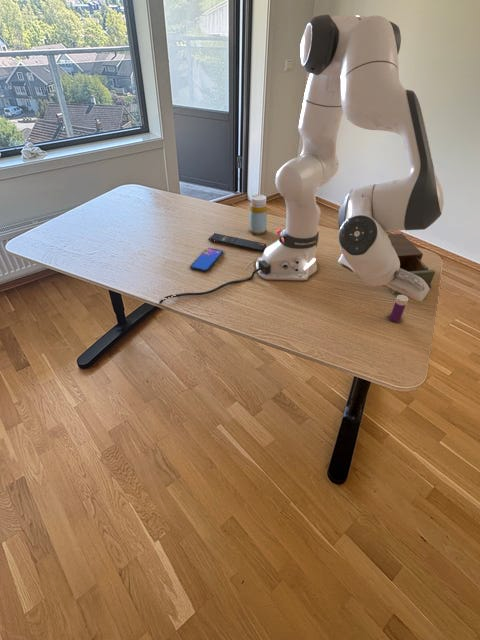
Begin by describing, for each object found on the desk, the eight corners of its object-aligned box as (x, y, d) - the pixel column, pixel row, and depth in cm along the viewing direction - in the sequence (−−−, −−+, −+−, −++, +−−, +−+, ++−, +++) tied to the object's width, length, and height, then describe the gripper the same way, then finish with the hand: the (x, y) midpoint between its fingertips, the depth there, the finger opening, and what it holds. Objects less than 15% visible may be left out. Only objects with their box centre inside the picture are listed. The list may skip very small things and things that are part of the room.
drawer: (434, 299, 110) (443, 279, 105) (399, 302, 109) (406, 282, 104) (407, 269, 124) (414, 250, 118) (376, 272, 123) (381, 252, 117)
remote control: (214, 236, 147) (214, 233, 146) (267, 247, 139) (267, 244, 138) (208, 241, 143) (208, 238, 142) (262, 253, 136) (262, 250, 135)
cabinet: (413, 278, 121) (423, 253, 115) (378, 281, 120) (386, 256, 113) (394, 256, 132) (402, 233, 126) (362, 259, 131) (368, 235, 125)
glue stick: (392, 322, 104) (400, 301, 98) (387, 315, 106) (395, 295, 101) (402, 321, 104) (410, 300, 99) (397, 315, 106) (405, 294, 101)
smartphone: (189, 266, 127) (207, 247, 137) (189, 268, 128) (207, 249, 138) (206, 270, 125) (223, 250, 135) (207, 272, 126) (224, 252, 136)
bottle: (264, 235, 146) (266, 201, 137) (248, 234, 148) (248, 200, 138) (267, 228, 152) (268, 194, 142) (251, 227, 153) (251, 193, 143)
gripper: (431, 271, 69) (437, 291, 80) (346, 236, 81) (362, 258, 92) (413, 297, 70) (422, 314, 81) (331, 259, 82) (349, 278, 93)
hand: (389, 284), depth 87 cm, fingers open, 8 cm apart
